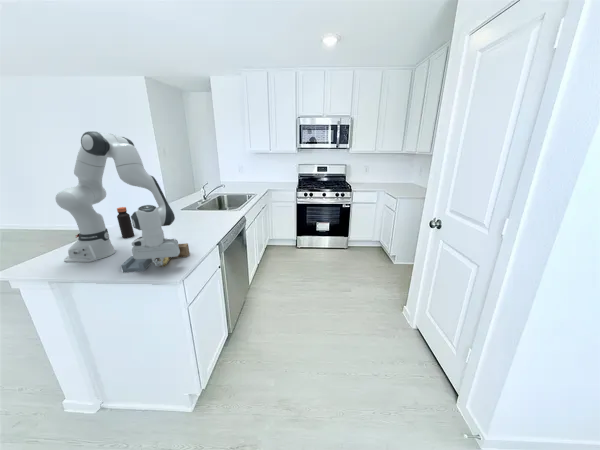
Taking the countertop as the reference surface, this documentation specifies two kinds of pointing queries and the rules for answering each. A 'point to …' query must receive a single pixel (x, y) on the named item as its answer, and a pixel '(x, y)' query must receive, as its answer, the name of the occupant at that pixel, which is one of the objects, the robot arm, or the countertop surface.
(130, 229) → the bottle
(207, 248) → the countertop surface
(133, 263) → the v block
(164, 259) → the gold bar
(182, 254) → the beam
